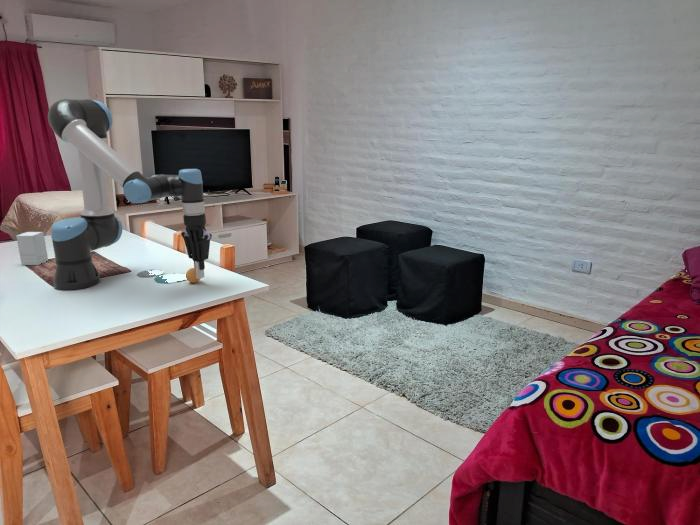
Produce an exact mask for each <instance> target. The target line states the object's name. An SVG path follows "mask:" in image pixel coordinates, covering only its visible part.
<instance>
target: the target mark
mask: <svg viewBox="0 0 700 525" xmlns="http://www.w3.org/2000/svg"><path fill="white" fill-rule="evenodd" d="M162 278H163V276H161V277H159V276H158V277H157V276H156V277H154V280H155V281H156V283H158V282H160V283H159V284H169V283H168V282H167V281H166V280H167V279H162ZM154 280H153V281H154ZM155 281H154V282H155ZM165 281H166V282H165Z"/></svg>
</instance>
